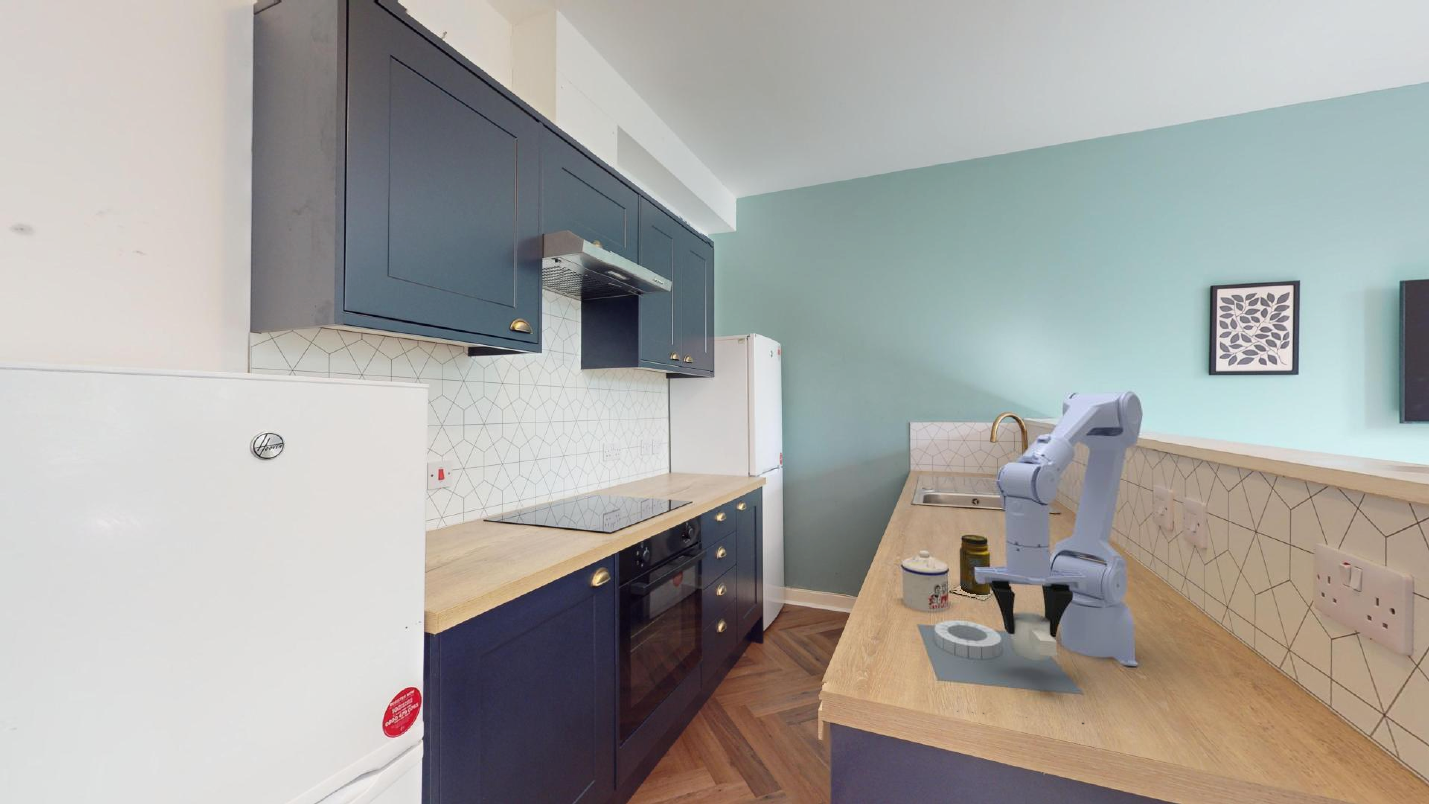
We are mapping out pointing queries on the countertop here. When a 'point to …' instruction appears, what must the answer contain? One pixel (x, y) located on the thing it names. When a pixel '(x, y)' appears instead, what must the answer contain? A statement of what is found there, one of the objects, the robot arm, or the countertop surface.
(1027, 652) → the cream post on cylinder
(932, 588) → the teacup with lid
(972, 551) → the condiment
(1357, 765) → the countertop surface
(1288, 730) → the countertop surface
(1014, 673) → the stand
